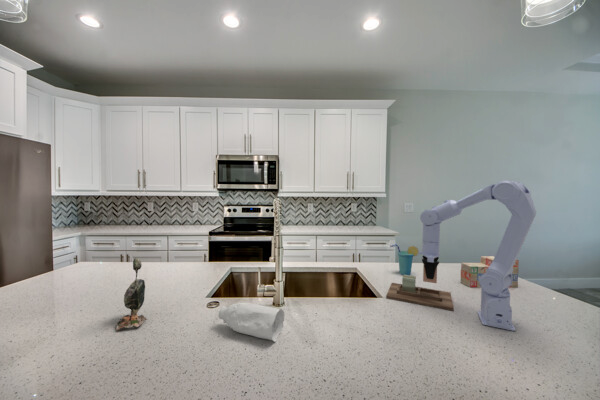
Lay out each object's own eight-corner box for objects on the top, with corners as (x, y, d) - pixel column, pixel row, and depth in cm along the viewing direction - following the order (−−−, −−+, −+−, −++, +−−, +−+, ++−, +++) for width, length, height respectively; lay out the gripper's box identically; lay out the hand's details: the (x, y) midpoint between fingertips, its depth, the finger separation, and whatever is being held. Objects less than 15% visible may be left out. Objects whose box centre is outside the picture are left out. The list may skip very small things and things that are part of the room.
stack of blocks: (469, 287, 108) (470, 259, 108) (460, 282, 114) (460, 255, 114) (518, 287, 109) (519, 259, 108) (505, 282, 115) (506, 256, 115)
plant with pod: (154, 312, 82) (154, 251, 82) (138, 331, 71) (137, 260, 70) (127, 314, 81) (127, 252, 80) (106, 333, 69) (105, 261, 69)
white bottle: (230, 319, 78) (230, 294, 78) (285, 332, 71) (285, 304, 71) (213, 332, 71) (213, 304, 71) (272, 348, 64) (272, 317, 64)
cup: (393, 276, 121) (393, 245, 121) (386, 271, 129) (387, 242, 128) (421, 276, 122) (421, 245, 122) (412, 271, 130) (413, 242, 129)
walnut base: (453, 311, 86) (454, 290, 85) (386, 298, 96) (386, 279, 95) (450, 294, 100) (450, 277, 100) (391, 284, 110) (392, 269, 110)
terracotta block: (436, 283, 93) (437, 267, 93) (423, 281, 95) (423, 265, 95) (436, 279, 97) (436, 264, 97) (423, 277, 99) (423, 262, 99)
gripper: (419, 237, 104) (419, 270, 104) (418, 243, 91) (417, 280, 91) (439, 239, 101) (438, 272, 101) (440, 245, 88) (439, 284, 88)
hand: (429, 276), depth 96 cm, fingers closed on terracotta block, 4 cm apart
